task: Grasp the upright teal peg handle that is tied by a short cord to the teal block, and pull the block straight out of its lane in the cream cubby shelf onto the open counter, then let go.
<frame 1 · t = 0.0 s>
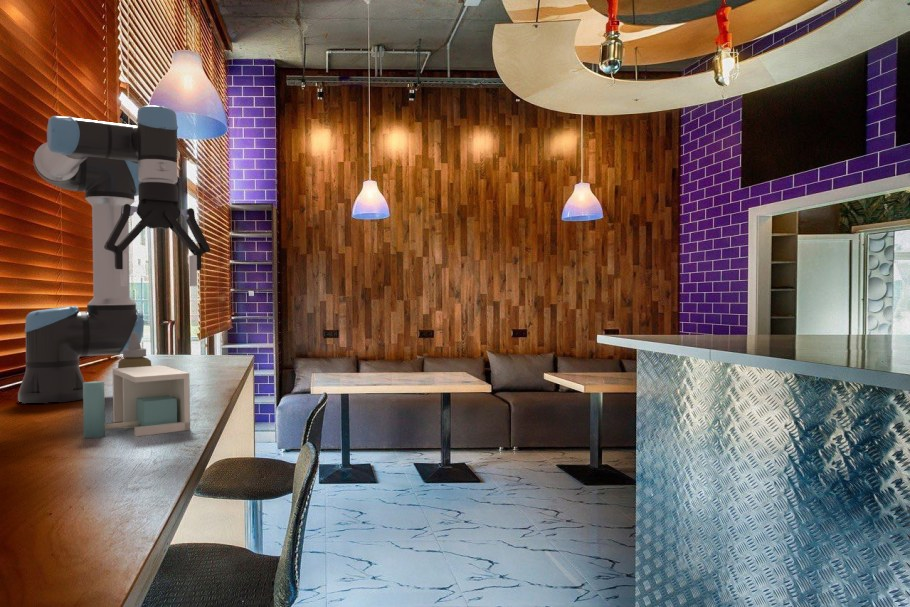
hand: (159, 286, 144), 28 cm above the table, fingers open, 13 cm apart
cream cubby shelf: (150, 425, 139), on the table
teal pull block: (156, 428, 136), on the table
grey block: (145, 422, 143), on the table
squeeze bottle: (135, 415, 152), on the table
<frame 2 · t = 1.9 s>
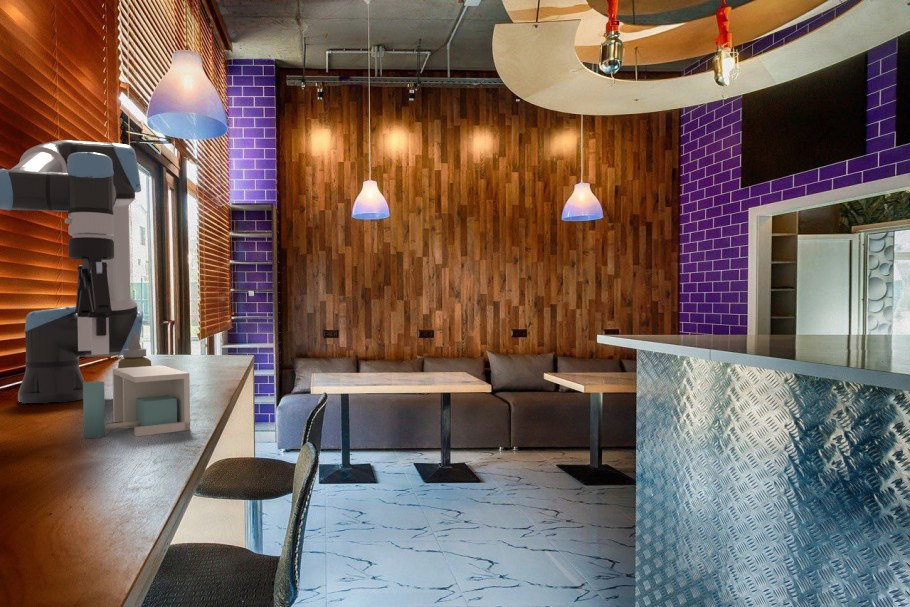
hand: (93, 352, 129), 16 cm above the table, fingers open, 13 cm apart
nothing on the table moved.
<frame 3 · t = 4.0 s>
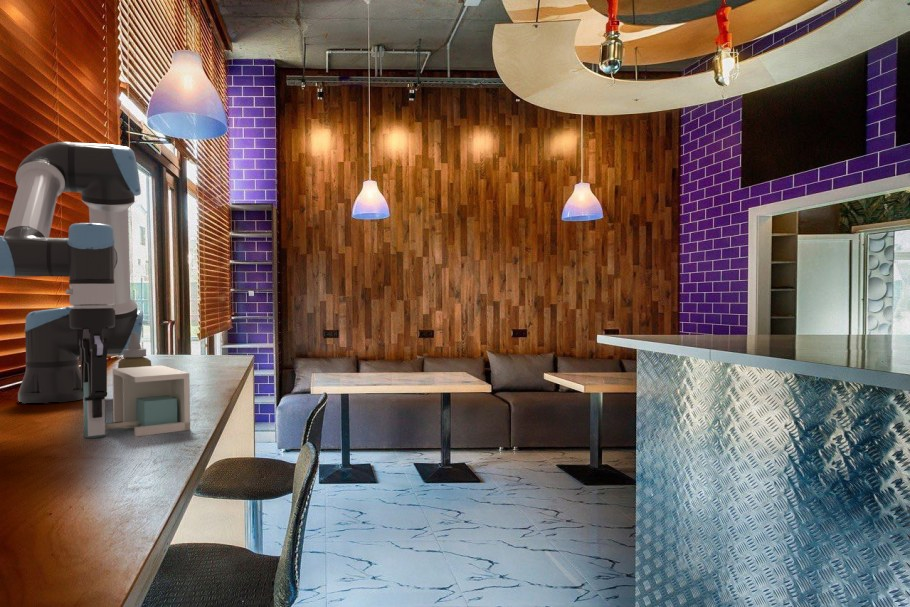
hand: (94, 433, 129), 1 cm above the table, fingers closed on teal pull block, 3 cm apart
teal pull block: (156, 429, 136), on the table, touching gripper
everything else where it was.
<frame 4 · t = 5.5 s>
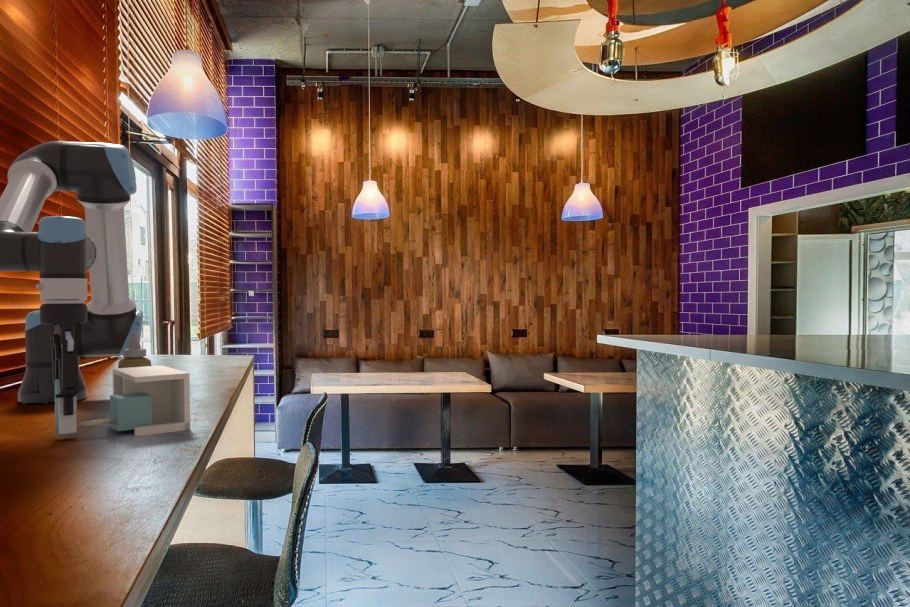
hand: (65, 430, 126), 2 cm above the table, fingers closed on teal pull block, 3 cm apart
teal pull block: (131, 426, 133), point 1 cm above the table, touching gripper
everything else where it was.
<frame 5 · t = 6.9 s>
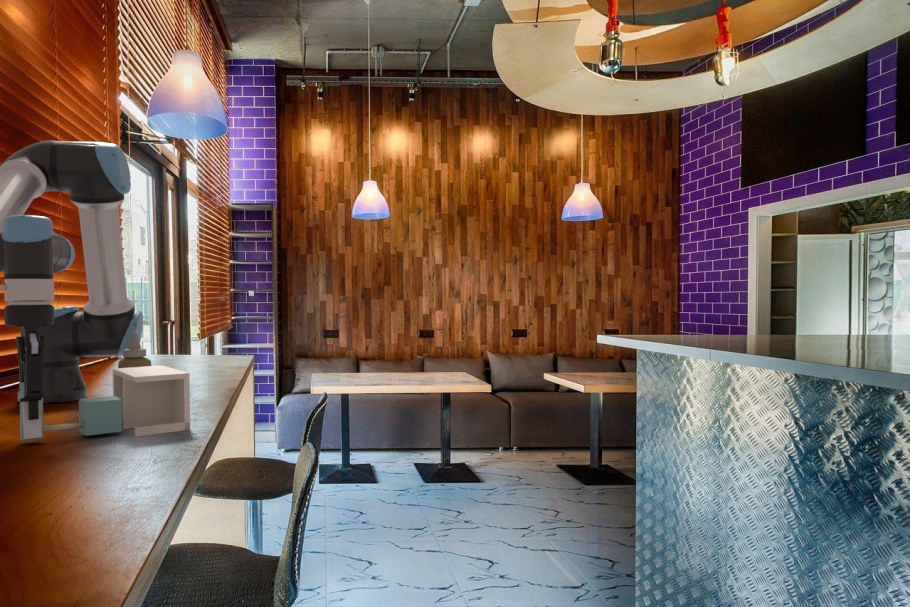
hand: (31, 435, 123), 1 cm above the table, fingers closed on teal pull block, 3 cm apart
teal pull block: (100, 431, 130), point 1 cm above the table, touching gripper
everything else where it was.
when the fingers open (1 cm above the table, at t = 7.3 s): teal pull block stays where it is, on the table.
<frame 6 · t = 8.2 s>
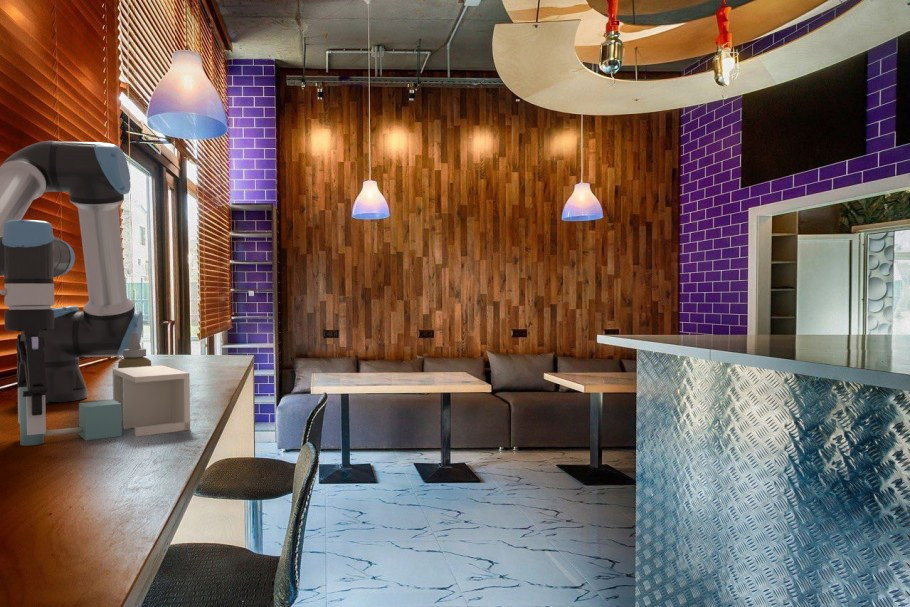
hand: (31, 428, 123), 3 cm above the table, fingers open, 13 cm apart
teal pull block: (100, 435, 130), on the table
everything else where it was.
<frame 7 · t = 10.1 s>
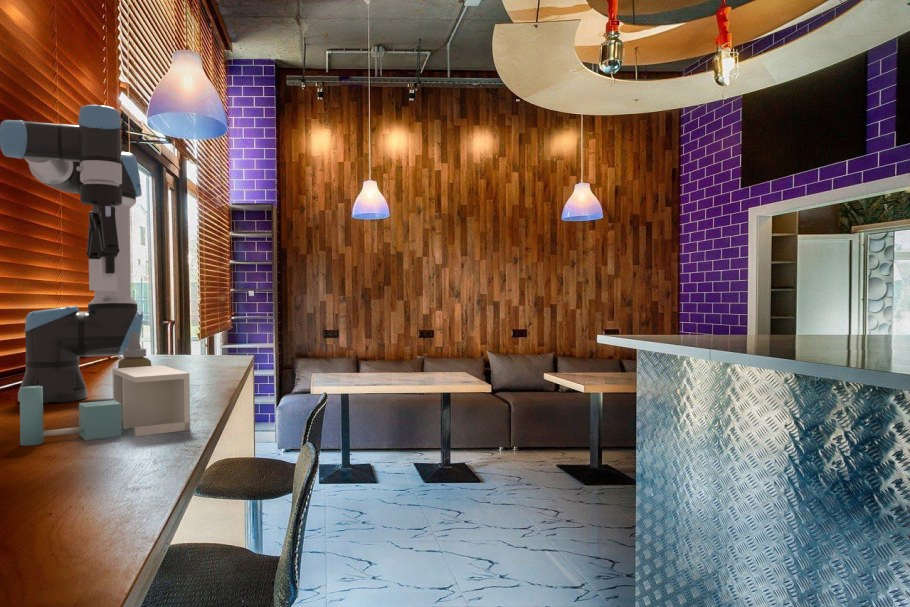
hand: (102, 290, 140), 27 cm above the table, fingers open, 13 cm apart
nothing on the table moved.
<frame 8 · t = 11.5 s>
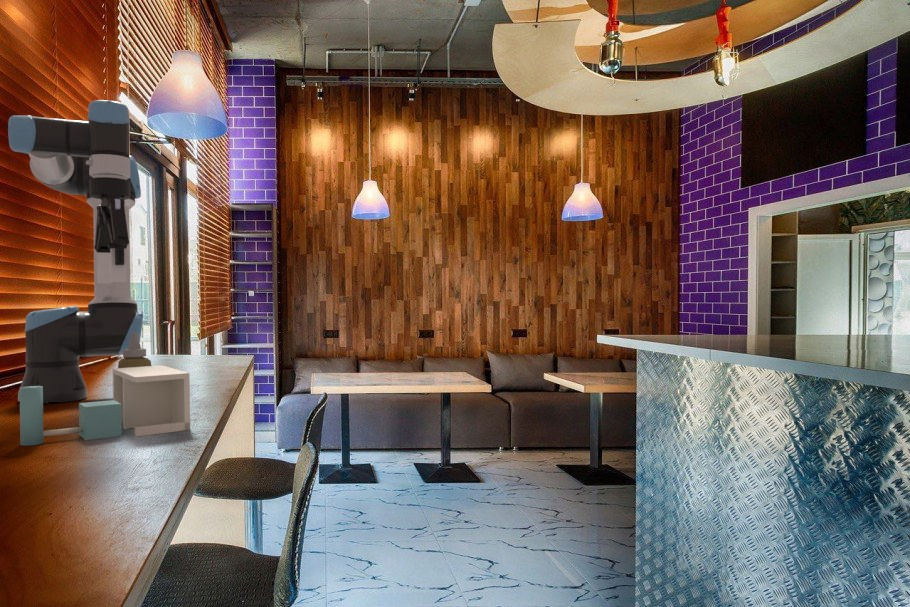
hand: (111, 283, 142), 29 cm above the table, fingers open, 13 cm apart
nothing on the table moved.
at the end: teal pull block inside the target area (2.9 cm from its centre), on the table; the gripper is holding nothing; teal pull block tilted 0° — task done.
